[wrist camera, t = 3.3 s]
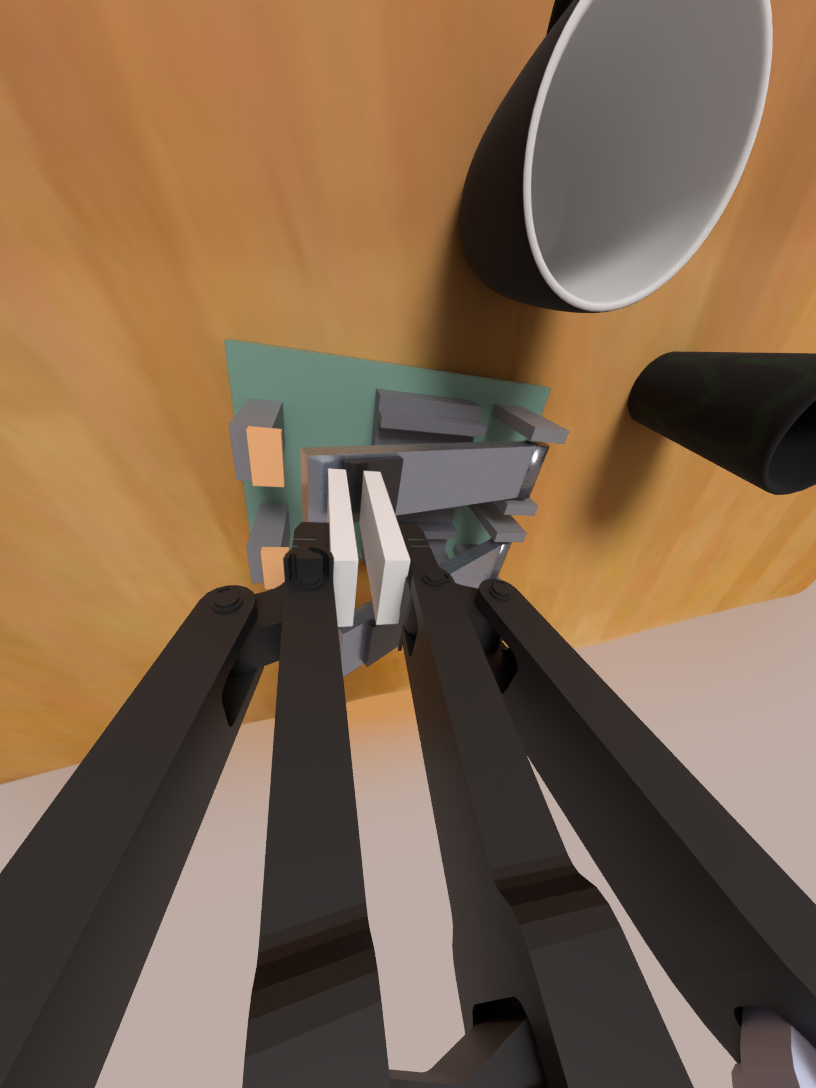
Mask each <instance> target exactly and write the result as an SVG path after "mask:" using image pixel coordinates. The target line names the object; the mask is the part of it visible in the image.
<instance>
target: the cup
mask: <svg viewBox="0 0 816 1088" xmlns="http://www.w3.org/2000/svg"><path fill="white" fill-rule="evenodd" d="M628 408H629V413H630V415H631V417H632V418H633V419H634V420H635V421H637V422H639V423H640V424H642V425H644V426H646V427H648V428H650V429H652V430H653V431H655V432H657V433H659V434H661V435H663V436H664V437H666V438H668V439H670V440H672V441H674V442H676V443H677V444H679V445H681V446H683V447H685V448H687V449H689V450H690V451H692V452H694V453H696V454H698V455H700V456H702V457H703V458H705V459H707V460H709V461H711V462H713V463H715V464H716V465H718V466H720V467H722V468H724V469H726V470H728V471H729V472H731V473H733V474H735V475H737V476H739V477H741V478H742V479H744V480H746V481H748V482H750V483H752V484H754V485H755V486H757V487H759V488H761V489H763V490H765V491H767V492H769V493H772V494H775V495H783V494H791V493H794V492H798V491H802V490H804V489H807V488H809V487H811V486H813V485H815V484H816V354H808V353H739V352H670V353H666V354H664V355H662V356H660V357H658V358H656V359H655V360H654V361H652V362H651V363H650V364H649V365H648V366H647V367H646V368H645V369H644V370H643V371H642V372H641V374H640V375H639V377H638V378H637V379H636V381H635V383H634V385H633V387H632V390H631V393H630V396H629V402H628Z"/></svg>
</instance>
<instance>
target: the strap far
mask: <svg viewBox="0 0 816 1088" xmlns="http://www.w3.org/2000/svg"><path fill="white" fill-rule="evenodd" d="M511 543H512V542H494V541H493V539H492V538H490V539H489V540H487V541H485V542H483V543H481V544H479V545H478V546H476V547H474V548H472V549H470V550H468V551H466V552H464V553H462V554H460V555H458V556H456V557H454V558H453V559H451V560H449V561H447V562H445V563H443V564H441V565H439V568H441V569H444V570H445V571H447V572H448V573H449V574H450V575H451V576H452V578H453V579H454V581H455V583H457V584H461V585H464V586H469V587H474V588H479V585H480V584H481V582H482V581H484V580H486V579H497V578H498V576H499V573H500V571H501V568H502V565H503V563H504V560H505V558H506V555H507V553H508V550H509V548H510V545H511ZM402 625H403V621H402V617H401V613H400V617H399V622H398V624H382V625H376V621H375V614H374V608H373V602H372V601H370V602H368V603H366V604H364V605H362V606H360V607H359V608H357V609H355V610H354V618H353V626H345V627H338V632H339V642H340V652H341V662H342V672H343V677H344V676H346V675H347V674H349V673H350V672H352V671H353V670H355V669H356V668H358V667H359V666H361V665H362V664H365V665H366V666H367V667H368V666H369V665H371V664H372V663H374V662H375V661H377V660H378V659H380V658H381V657H383V656H384V655H386V654H387V653H389V652H390V651H392V650H393V649H395V648H396V647H398V645H399V640H400V635H401V630H402Z"/></svg>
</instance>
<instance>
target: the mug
mask: <svg viewBox="0 0 816 1088" xmlns="http://www.w3.org/2000/svg"><path fill="white" fill-rule="evenodd" d="M771 57H772V14H771V5H770V0H555V3H554V6H553V10H552V14H551V18H550V22H549V26H548V30H547V34H546V37H545V38H544V40H543V41H542V42H541V44H540V45H539V47H538V48H537V49H536V51H535V52H534V54H533V55H532V57H531V58H530V59H529V61H528V62H527V64H526V65H525V67H524V68H523V70H522V71H521V73H520V74H519V76H518V77H517V79H516V81H515V82H514V84H513V85H512V87H511V88H510V90H509V91H508V93H507V94H506V96H505V98H504V99H503V101H502V102H501V104H500V106H499V107H498V109H497V111H496V113H495V114H494V116H493V118H492V120H491V122H490V124H489V125H488V127H487V129H486V131H485V133H484V135H483V137H482V139H481V141H480V143H479V145H478V148H477V150H476V152H475V154H474V157H473V159H472V162H471V165H470V167H469V170H468V174H467V177H466V180H465V184H464V189H463V194H462V200H461V210H460V228H461V237H462V242H463V247H464V250H465V254H466V256H467V259H468V261H469V263H470V265H471V267H472V269H473V270H474V272H475V273H476V275H477V276H478V277H479V278H480V280H481V281H482V282H483V283H485V284H486V285H487V286H488V287H489V288H491V289H492V290H494V291H495V292H497V293H499V294H501V295H503V296H505V297H507V298H509V299H512V300H515V301H518V302H521V303H524V304H528V305H532V306H536V307H541V308H546V309H552V310H558V311H565V312H576V313H600V312H608V311H613V310H617V309H621V308H624V307H627V306H629V305H632V304H634V303H636V302H638V301H640V300H642V299H643V298H645V297H647V296H649V295H650V294H652V293H653V292H654V291H656V290H657V289H659V288H660V287H661V286H662V285H664V284H665V283H666V282H667V281H668V280H670V279H671V278H672V277H673V276H674V275H675V274H676V273H677V272H678V271H679V270H680V269H681V268H682V267H683V266H684V265H685V264H686V263H687V262H688V260H689V259H690V258H691V257H692V256H693V254H694V253H695V252H696V251H697V250H698V248H699V247H700V246H701V244H702V243H703V242H704V240H705V239H706V238H707V236H708V235H709V233H710V232H711V230H712V229H713V227H714V226H715V224H716V223H717V221H718V219H719V218H720V216H721V214H722V213H723V211H724V209H725V207H726V205H727V204H728V202H729V200H730V198H731V196H732V194H733V192H734V190H735V188H736V186H737V184H738V182H739V180H740V177H741V175H742V173H743V170H744V168H745V165H746V163H747V161H748V158H749V155H750V152H751V150H752V147H753V144H754V141H755V138H756V134H757V131H758V128H759V124H760V121H761V117H762V113H763V109H764V104H765V99H766V94H767V89H768V83H769V76H770V69H771Z"/></svg>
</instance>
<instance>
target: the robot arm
mask: <svg viewBox="0 0 816 1088" xmlns="http://www.w3.org/2000/svg"><path fill="white" fill-rule="evenodd" d="M359 524H360V530H361V536H362V542H363V548H364V554H365V560H366V566H367V572H368V578H369V584H370V590H371V596H372V602H373V608H374V614H375V621H376V625H382V624H398V622H399V617H400V613H401V617H402V621H403V625H402V630H401V635H400V640H399V645H398V651H401V650H402V645H403V649H404V654H405V659H406V665H407V670H408V676H409V681H410V687H411V692H412V698H413V703H414V708H415V714H416V720H417V725H418V730H419V735H420V741H421V747H422V752H423V758H424V763H425V769H426V774H427V780H428V785H429V791H430V796H431V801H432V807H433V812H434V818H435V823H436V829H437V834H438V840H439V845H440V851H441V856H442V862H443V867H444V873H445V878H446V883H447V889H448V895H449V900H450V906H451V912H452V919H453V944H452V947H453V960H454V968H455V975H456V981H457V987H458V993H459V999H460V1005H461V1011H462V1017H463V1023H464V1028H465V1035H464V1037H462V1038H461V1039H460V1041H458V1042H457V1043H456V1044H455V1045H454V1047H452V1048H451V1050H449V1051H448V1052H447V1053H446V1054H445V1056H443V1057H442V1058H441V1059H440V1061H438V1062H437V1063H436V1064H435V1065H434V1067H433V1068H431V1069H430V1070H429V1071H427V1072H422V1073H420V1072H410V1071H400V1070H389V1067H388V1059H387V1049H386V1039H385V1030H384V1021H383V1012H382V1003H381V995H380V986H379V979H378V970H377V964H376V957H375V951H374V946H373V941H372V937H371V933H370V928H369V922H368V916H367V907H366V898H365V889H364V878H363V868H362V859H361V849H360V839H359V830H358V819H357V809H356V799H355V790H354V781H353V770H352V761H351V750H350V740H349V731H348V721H347V711H346V701H345V691H344V681H343V672H342V662H341V652H340V642H339V632H338V627H345V626H353V618H354V607H355V595H356V583H357V572H358V554H357V547H356V539H355V532H354V525H353V518H352V510H351V503H350V496H349V489H348V482H347V474H346V470H344V469H328V508H327V522H301V523H300V524H299V525H298V526H297V527H296V528H295V529H294V537H293V545H292V549H291V550H289V551H288V552H287V553H286V554H285V556H284V558H283V565H284V578H285V581H284V582H283V583H282V584H281V585H280V586H278V587H276V588H274V589H272V590H269V591H266V592H262V593H258V594H254V593H253V592H252V591H251V590H250V589H248V588H247V587H243V586H239V585H230V586H224V587H220V588H216V589H214V590H212V591H210V592H208V593H207V594H206V595H205V596H204V597H202V598H201V599H200V600H199V602H198V603H197V605H196V606H195V607H194V609H193V610H192V611H191V613H190V614H189V616H188V617H187V618H186V620H185V621H184V622H183V624H182V625H181V626H180V628H179V629H178V631H177V632H176V633H175V635H174V636H173V637H172V639H171V640H170V642H169V643H168V644H167V646H166V647H165V648H164V650H163V651H162V653H161V654H160V655H159V657H158V658H157V659H156V661H155V662H154V664H153V665H152V666H151V668H150V669H149V670H148V672H147V673H146V674H145V676H144V677H143V679H142V680H141V681H140V683H139V684H138V685H137V687H136V688H135V690H134V691H133V692H132V694H131V695H130V696H129V698H128V699H127V701H126V702H125V703H124V705H123V706H122V707H121V709H120V710H119V711H118V713H117V714H116V716H115V717H114V718H113V720H112V721H111V722H110V724H109V725H108V727H107V728H106V729H105V731H104V732H103V733H102V735H101V736H100V738H99V739H98V740H97V742H96V743H95V744H94V746H93V747H92V748H91V750H90V751H89V753H88V754H87V755H86V757H85V758H84V759H83V761H82V762H81V764H80V765H79V766H78V768H77V769H76V771H75V772H74V773H73V775H72V776H71V777H70V779H69V780H68V781H67V783H66V784H65V786H64V787H63V788H62V790H61V791H60V793H59V794H58V795H57V796H56V798H55V799H54V801H53V802H52V803H51V805H50V806H49V807H48V809H47V810H46V812H45V813H44V814H43V816H42V817H41V818H40V820H39V821H38V822H37V824H36V825H35V827H34V828H33V829H32V831H31V832H30V834H29V835H28V836H27V838H26V839H25V840H24V842H23V843H22V845H21V846H20V847H19V849H18V850H17V851H16V853H15V854H14V856H13V857H12V858H11V859H10V861H9V862H8V864H7V865H6V866H5V868H4V869H3V870H2V872H1V873H0V1088H95V1085H96V1083H97V1080H98V1078H99V1075H100V1073H101V1070H102V1068H103V1065H104V1063H105V1060H106V1058H107V1055H108V1053H109V1050H110V1048H111V1046H112V1043H113V1040H114V1038H115V1036H116V1033H117V1031H118V1028H119V1026H120V1023H121V1021H122V1018H123V1016H124V1013H125V1011H126V1008H127V1006H128V1003H129V1001H130V998H131V996H132V993H133V991H134V989H135V986H136V984H137V981H138V979H139V976H140V974H141V971H142V969H143V966H144V964H145V961H146V959H147V956H148V954H149V951H150V949H151V946H152V944H153V941H154V939H155V937H156V934H157V931H158V929H159V926H160V924H161V922H162V919H163V917H164V914H165V912H166V909H167V907H168V904H169V902H170V899H171V897H172V894H173V892H174V889H175V887H176V885H177V882H178V880H179V877H180V875H181V872H182V870H183V867H184V865H185V862H186V860H187V857H188V854H189V852H190V850H191V847H192V845H193V842H194V840H195V837H196V835H197V832H198V830H199V828H200V825H201V823H202V820H203V818H204V815H205V813H206V810H207V808H208V805H209V803H210V800H211V798H212V795H213V793H214V790H215V788H216V785H217V783H218V780H219V778H220V775H221V773H222V771H223V768H224V766H225V763H226V761H227V758H228V756H229V753H230V751H231V748H232V746H233V743H234V741H235V738H236V736H237V733H238V731H239V728H240V726H241V723H242V721H243V718H244V716H245V714H246V711H247V709H248V706H249V704H250V701H251V699H252V696H253V694H254V691H255V689H256V686H257V684H258V681H259V679H260V676H261V674H262V671H263V669H264V666H265V665H268V664H271V663H274V662H277V661H279V672H278V686H277V700H276V714H275V729H274V742H273V756H272V770H271V786H270V798H269V812H268V826H267V840H266V855H265V868H264V869H265V870H264V883H263V897H262V911H261V925H260V940H259V950H258V960H257V968H256V973H255V978H254V983H253V988H252V994H251V1003H250V1010H249V1018H248V1028H247V1039H246V1050H245V1061H244V1074H243V1086H242V1088H694V1087H693V1085H692V1083H691V1081H690V1079H689V1076H688V1074H687V1072H686V1070H685V1067H684V1065H683V1063H682V1061H681V1059H680V1056H679V1054H678V1052H677V1050H676V1047H675V1045H674V1043H673V1041H672V1039H671V1036H670V1034H669V1032H668V1030H667V1028H666V1025H665V1023H664V1021H663V1019H662V1017H661V1014H660V1012H659V1010H658V1008H657V1005H656V1003H655V1001H654V999H653V997H652V994H651V992H650V990H649V988H648V985H647V984H646V981H645V979H644V977H643V974H642V973H641V970H640V968H639V966H638V963H637V961H636V959H635V957H634V955H633V952H632V950H631V948H630V946H629V943H628V941H627V939H626V937H625V935H624V932H623V930H622V928H621V926H620V924H619V922H618V920H617V918H616V917H615V915H614V913H613V911H612V909H611V907H610V905H609V903H608V902H607V901H606V900H605V898H604V897H603V895H602V894H601V893H600V891H599V890H598V889H597V887H596V886H594V885H593V884H592V883H591V882H589V881H588V880H587V879H585V878H584V877H583V876H582V875H581V874H579V872H578V871H577V870H576V868H575V867H574V865H573V864H572V862H571V860H570V858H569V856H568V854H567V852H566V849H565V847H564V844H563V842H562V840H561V837H560V835H559V832H558V830H557V827H556V825H555V823H554V820H553V818H552V815H551V813H550V811H549V808H548V806H547V803H546V801H545V799H544V796H543V794H542V791H541V789H540V786H539V784H538V782H537V779H536V777H535V775H534V772H533V769H532V767H531V765H530V762H529V760H528V758H527V756H528V757H529V759H530V761H531V762H532V764H533V765H534V767H535V769H536V770H537V772H538V773H539V775H540V776H541V778H542V780H543V781H544V782H545V784H546V786H547V787H548V789H549V791H550V792H551V794H552V795H553V797H554V798H555V800H556V802H557V803H558V805H559V806H560V808H561V810H562V811H563V813H564V814H565V816H566V817H567V819H568V821H569V822H570V824H571V825H572V827H573V829H574V830H575V832H576V833H577V835H578V836H579V838H580V840H581V841H582V843H583V844H584V846H585V847H586V849H587V851H588V852H589V854H590V855H591V857H592V859H593V860H594V861H595V863H596V865H597V866H598V868H599V870H600V871H601V873H602V874H603V876H604V877H605V879H606V880H607V882H608V884H609V885H610V887H611V889H612V890H613V892H614V893H615V895H616V896H617V898H618V900H619V901H620V903H621V904H622V906H623V907H624V909H625V911H626V912H627V914H628V915H629V917H630V918H631V920H632V922H633V923H634V925H635V926H636V928H637V930H638V931H639V933H640V934H641V936H642V937H643V939H644V941H645V942H646V944H647V945H648V946H649V948H650V950H651V951H652V952H653V954H654V956H655V957H656V959H657V960H658V962H659V963H660V964H661V966H662V967H663V969H664V970H665V972H666V973H667V975H668V976H669V978H670V979H671V981H672V982H673V983H674V985H675V986H676V988H677V989H678V990H679V992H680V993H681V994H682V996H683V997H684V998H685V999H686V1001H687V1002H688V1003H689V1005H690V1006H691V1007H692V1009H693V1010H694V1011H695V1013H696V1014H697V1015H698V1017H699V1018H700V1019H701V1021H702V1022H703V1023H704V1025H706V1027H707V1028H708V1029H709V1030H710V1031H711V1033H712V1034H713V1035H714V1036H715V1037H716V1039H717V1040H718V1041H719V1042H720V1043H721V1044H722V1046H723V1047H724V1048H725V1049H726V1050H727V1051H728V1052H729V1054H730V1055H731V1056H732V1057H733V1058H734V1060H735V1061H736V1062H737V1064H735V1066H734V1068H733V1070H732V1083H733V1088H816V904H815V903H814V902H812V900H811V899H810V898H809V897H808V896H807V895H806V894H805V893H804V892H803V891H802V890H801V889H800V888H799V886H798V885H797V884H796V883H795V882H794V881H793V880H792V879H791V878H790V877H789V876H788V875H787V874H786V873H785V872H784V871H783V870H782V869H781V868H780V866H779V865H778V864H777V863H776V862H775V861H774V860H773V859H772V858H771V857H770V856H769V855H768V854H767V853H766V852H765V851H764V850H763V849H762V847H761V846H760V845H759V844H758V843H757V842H756V841H755V840H754V839H753V838H752V837H751V836H750V835H749V834H748V833H747V832H746V831H745V829H744V828H743V827H742V826H741V825H740V824H739V823H738V822H737V821H736V820H735V819H734V818H733V817H732V816H731V815H730V814H729V813H728V812H727V810H726V809H725V808H724V807H723V806H722V805H721V804H720V803H719V802H718V801H717V800H716V799H715V798H714V797H713V796H712V795H711V794H710V793H709V792H708V790H707V789H706V788H705V787H704V786H703V785H702V784H701V783H700V782H699V781H698V780H697V779H696V778H695V777H694V776H693V775H692V774H691V773H690V772H689V770H688V769H687V768H686V767H685V766H684V765H683V764H682V763H681V762H680V761H679V760H678V759H677V758H676V757H675V756H674V755H673V754H672V752H670V750H669V749H668V748H667V747H666V746H665V745H664V744H663V743H662V742H661V741H660V740H659V739H658V738H657V737H656V736H655V735H654V733H653V732H652V731H651V730H650V729H649V728H648V727H647V726H646V725H645V724H644V723H643V722H642V721H641V720H640V719H639V718H638V717H637V716H636V715H635V714H634V712H632V710H630V708H629V707H628V706H627V705H626V704H625V703H624V702H623V701H622V700H621V699H620V698H619V697H618V695H617V694H616V693H615V692H614V691H613V690H612V689H611V688H610V687H609V686H608V685H607V684H606V683H605V682H604V681H603V680H602V679H601V678H600V677H599V675H598V674H597V673H596V672H595V671H594V670H593V669H592V668H591V667H590V666H589V665H588V664H587V663H586V662H585V661H584V660H583V659H582V658H581V657H580V655H579V654H578V653H577V652H576V651H575V650H574V649H573V648H572V647H571V646H570V645H569V644H568V643H567V642H566V641H565V640H564V639H563V637H562V636H561V635H560V634H559V633H558V632H557V631H556V630H555V629H554V628H553V627H552V626H551V625H550V624H549V623H548V622H547V621H546V620H545V618H544V617H543V616H542V615H541V614H540V613H539V612H538V611H537V610H536V609H535V608H534V607H533V606H532V605H531V604H530V603H529V602H528V601H527V599H526V598H525V597H524V596H523V595H522V594H521V593H520V592H519V591H518V590H517V589H516V588H515V587H513V586H512V585H511V584H509V583H507V582H505V581H503V580H499V579H486V580H484V581H482V582H481V584H480V585H479V588H474V587H469V586H464V585H461V584H457V583H455V581H454V579H453V578H452V576H451V575H450V574H449V573H448V572H447V571H445V570H444V569H441V568H439V566H438V563H437V561H436V559H435V557H434V554H433V552H432V550H431V548H430V547H429V543H428V541H427V539H426V536H425V534H424V532H423V530H422V529H421V528H419V527H418V526H417V525H416V524H408V523H398V522H397V519H396V516H395V513H394V511H393V508H392V505H391V502H390V499H389V496H388V493H387V490H386V487H385V484H384V481H383V478H382V475H381V472H375V471H364V472H363V484H362V496H361V509H360V521H359ZM503 640H504V642H505V643H506V644H507V646H508V647H509V648H508V647H506V646H505V645H504V643H503V642H502V641H503ZM526 754H527V755H526Z"/></svg>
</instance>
